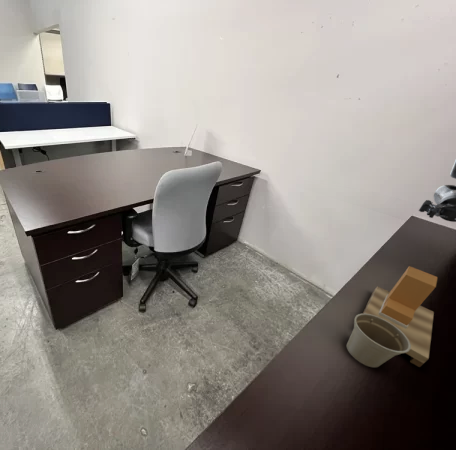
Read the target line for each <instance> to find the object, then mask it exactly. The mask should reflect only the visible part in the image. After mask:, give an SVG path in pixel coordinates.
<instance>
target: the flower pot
mask: <svg viewBox="0 0 456 450" xmlns="http://www.w3.org/2000/svg"><path fill="white" fill-rule="evenodd" d="M353 321H354V322H353V329H352V331H351V334H350V336H349V338H348V341H347V343H346V350H347V351H348V353H349V354H350V356H352V357H353V358H354V359H355V360H356V361H357V362H359V363H360V364H362V365H364V366H366V367H370V368H379V367H380V366H382V365H383V364H384V363H386V362H387V361H389V360H390V359H392V358H394V357H395V356H398V355H399V356H400V355H401V354H406V353H407V352H408V351H409V350H410V349H411V344H410V341H409V340H408V338H407V337H406V335H405V334H404V333H403V332H402V331H401V330H399V329H398V328H397V327H396V326H394V325H393V324H391V323H390V322H388V321H386V320H384V319H382V318H380V317H378V316H375V315H371V314H366V313H364V314H363V313H358V314H356V315H355V316H354V320H353Z"/></svg>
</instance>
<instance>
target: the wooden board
mask: <svg viewBox="0 0 456 450" xmlns="http://www.w3.org/2000/svg"><path fill="white" fill-rule="evenodd" d="M389 293H390V291H389V290H387V289H384V288H383V287H380V286H376V287H375V289H374V290H373V291H372V293H371V295H370V297H369V299H368V302H367V303H366V305H365V308H364V310H363V312H362V314H364V313H366V314H371V315H375V316H378V317H380V318H382V319H384V320H386V321H388V322H390V323H391V324H393V325H394V326H396V327H397V328H398V329H399V330H401V331H402V332H403V333H404V334H405V335H406V337H407V338H408V340H409V341H410V344H411V349H410V350H409V351H408V352H407V353H405V354H406V355H408V356H410V359H409V362H410V363H411V364H413V365H414V366H416V367H418V368H421V367H422V366H423V365H424V364H425V363H426V362H427V361H428V360H429V358H430V351H431V341H432V333H433V325H434V324H433V323H434V316H435V315H434V314H435V311H433V310H431V309H428V308H426V307H425V306H422V305H420V306H419V307H418V308H417V310H416V311H415V312H414V316H413V319H412V320H411V322H410V323H409V324H408V327H407V328H406V329H405V328H403V327H402V326H400V325H398V324H396V323H394V322H392V321H390V320H388V319H386V318H384V317H382V316H381V315H379V311H380V309H381V307H382V305H383V302H384V300H385V298H386V296H387V294H389Z"/></svg>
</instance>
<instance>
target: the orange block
mask: <svg viewBox="0 0 456 450" xmlns="http://www.w3.org/2000/svg"><path fill="white" fill-rule="evenodd" d="M437 283H438V276H435V275H433V274H430V273H428V272H425V271H423V270H421V269H418V268H416V267H413V266H411V265H409V266H408V267H407V268H406V270H405V271H404V273H403V274H402V275H401V277H399V279H398V281H396V283H395V284H394V286H393V287H392V289H391V290H390V291H389V292H390V293H389V294H387V296H386V298H385V300H384V302H383V305H382V307H381V309H380V311H379V315H381V316H382V317H384V318H386V319H388V320H390V321H392V322H394V323H396V324H398V325H400V326H402V327H403V328H405V329H406V328H407V327H408V324H409V323H410V322H411V320H412V319H413V316H414V312H415V311H416V310H417V308H418V307H419V306H422V304H423V303H424V301H425V300H426V299H427V298H428V297H429V296H430V294H432V292H433V291H434V290H435V288H437Z"/></svg>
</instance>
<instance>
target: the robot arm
mask: <svg viewBox="0 0 456 450" xmlns="http://www.w3.org/2000/svg"><path fill="white" fill-rule="evenodd" d="M449 173H450V174H449V176H450V177H451V178H452V179H454V180H456V159H455V160H454V163H453V165H452V168H451V169H450V172H449ZM433 201H434V202H435V204H433V202H432V200H429V199H426V200H425V201H424V202H423V203H422V205H421V206H420V207H419V208H418V212H420V213H426V216H428V218H431V219H433V218H434V216H435V217H438V218H439V217H440V218H441V219H442V220H444V221H447V222H451V223H456V185H455V184H444V185H441V186H439V187H438V188H437V189H436V190H435V191H434V193H433Z"/></svg>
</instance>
